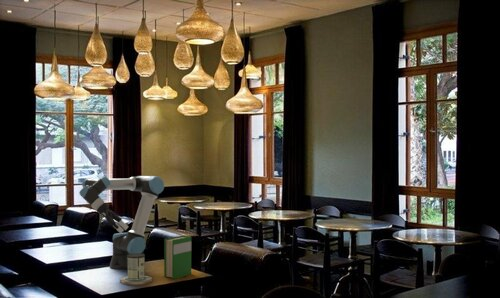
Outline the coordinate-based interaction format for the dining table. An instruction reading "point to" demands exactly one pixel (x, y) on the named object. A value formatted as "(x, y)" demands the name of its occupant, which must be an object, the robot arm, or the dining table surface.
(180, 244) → the hardback book
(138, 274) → the coffee can
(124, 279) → the hub plate
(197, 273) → the dining table surface
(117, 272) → the dining table surface
